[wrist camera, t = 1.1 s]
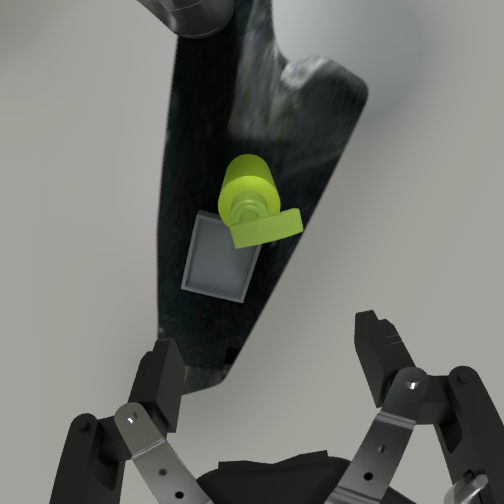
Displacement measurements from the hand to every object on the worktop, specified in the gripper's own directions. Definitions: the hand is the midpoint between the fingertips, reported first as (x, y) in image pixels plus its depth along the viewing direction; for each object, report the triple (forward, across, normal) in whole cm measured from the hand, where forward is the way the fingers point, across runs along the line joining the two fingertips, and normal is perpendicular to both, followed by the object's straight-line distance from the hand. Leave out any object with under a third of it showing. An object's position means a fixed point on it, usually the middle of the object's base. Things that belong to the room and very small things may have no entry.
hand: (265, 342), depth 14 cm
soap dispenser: (+32, 0, 0) cm, 32 cm away
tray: (+32, +6, +11) cm, 34 cm away
